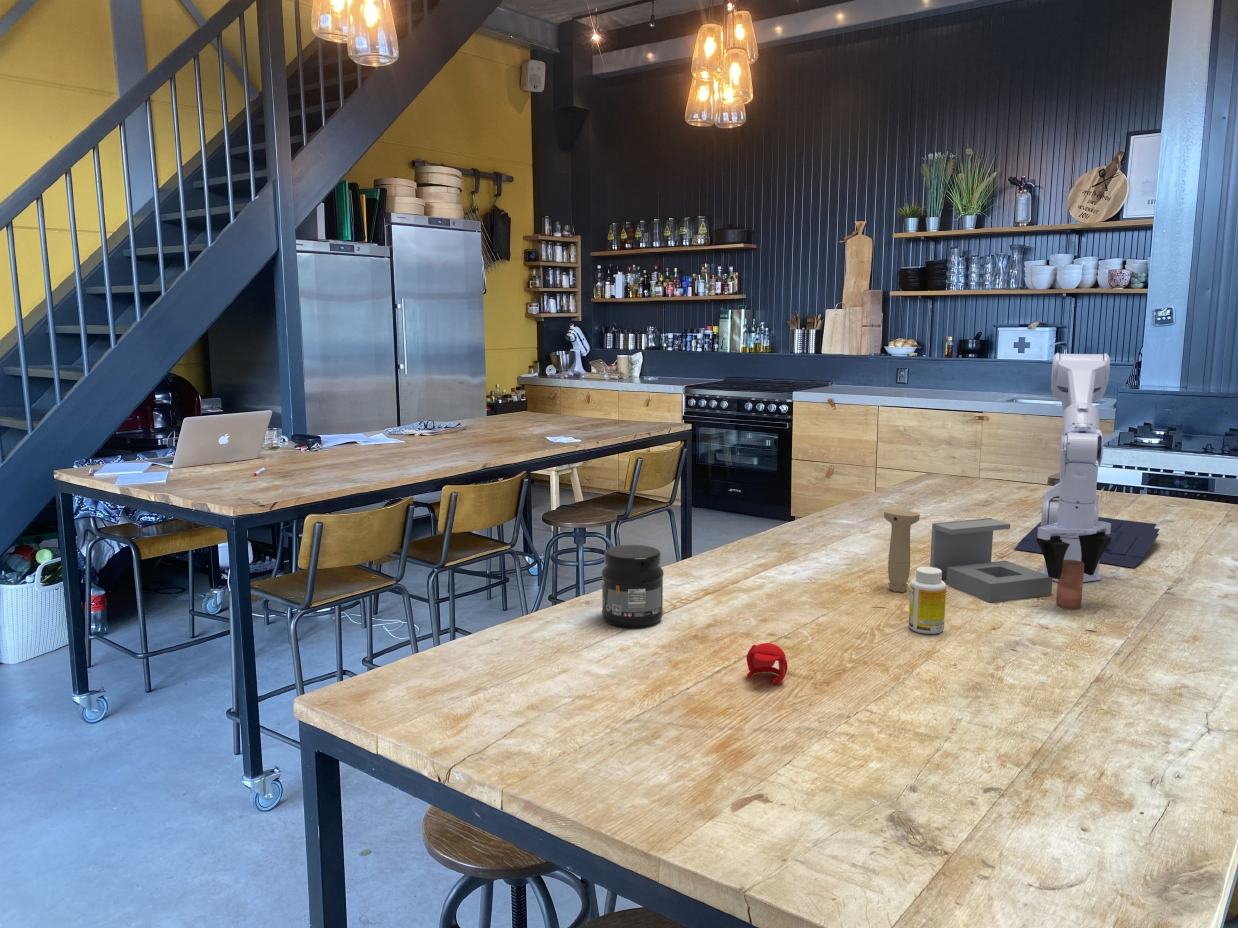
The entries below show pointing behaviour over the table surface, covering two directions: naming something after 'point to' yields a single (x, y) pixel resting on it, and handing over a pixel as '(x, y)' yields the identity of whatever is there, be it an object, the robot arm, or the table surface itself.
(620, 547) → the supplement container
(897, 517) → the handle
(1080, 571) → the peg
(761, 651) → the red toy helmet
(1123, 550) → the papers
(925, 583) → the supplement bottle
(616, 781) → the table surface
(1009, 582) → the socket stand
